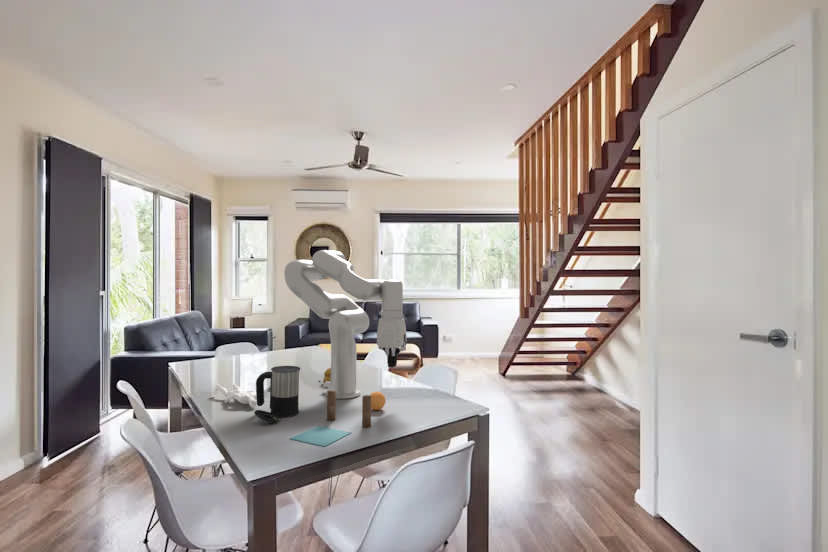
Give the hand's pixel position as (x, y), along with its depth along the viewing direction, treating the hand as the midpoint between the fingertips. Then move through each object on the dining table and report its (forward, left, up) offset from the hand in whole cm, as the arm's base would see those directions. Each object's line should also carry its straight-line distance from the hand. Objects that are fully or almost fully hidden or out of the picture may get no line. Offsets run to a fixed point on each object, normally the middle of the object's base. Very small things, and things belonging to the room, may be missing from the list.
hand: (392, 366), depth 163 cm
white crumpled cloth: (-48, -25, -14) cm, 56 cm away
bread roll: (-35, +14, -13) cm, 40 cm away
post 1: (-7, -25, -13) cm, 29 cm away
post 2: (+6, -25, -13) cm, 29 cm away
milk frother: (-23, -32, -13) cm, 41 cm away
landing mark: (0, -38, -13) cm, 41 cm away
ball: (0, -9, -10) cm, 14 cm away
